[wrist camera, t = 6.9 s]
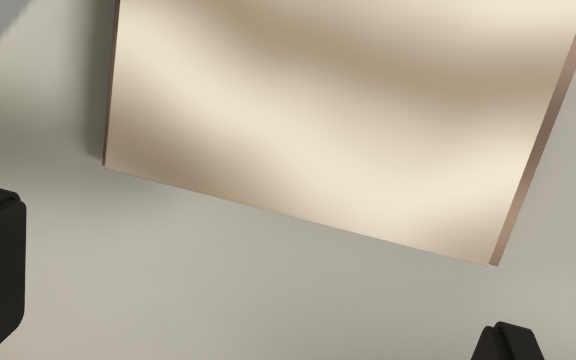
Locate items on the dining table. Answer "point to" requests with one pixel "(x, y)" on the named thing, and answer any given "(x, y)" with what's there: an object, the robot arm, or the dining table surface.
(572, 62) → the floor board
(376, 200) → the ash plank
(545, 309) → the dining table surface
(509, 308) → the dining table surface
